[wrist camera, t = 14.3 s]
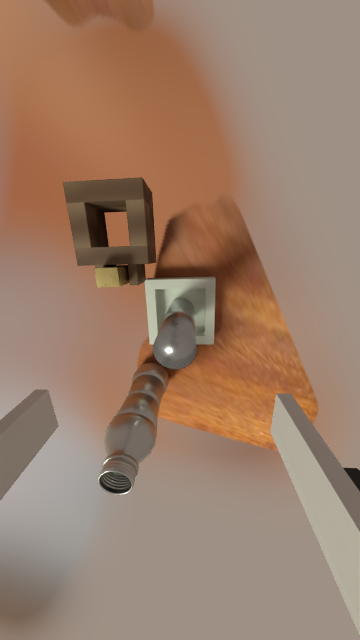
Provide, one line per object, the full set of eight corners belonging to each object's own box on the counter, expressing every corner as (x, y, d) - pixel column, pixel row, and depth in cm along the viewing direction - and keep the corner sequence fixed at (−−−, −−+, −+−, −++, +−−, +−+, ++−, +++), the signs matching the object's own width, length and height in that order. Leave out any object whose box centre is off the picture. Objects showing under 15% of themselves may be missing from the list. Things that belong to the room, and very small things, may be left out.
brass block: (117, 265, 32) (94, 268, 25) (134, 265, 32) (117, 267, 25) (118, 280, 33) (97, 287, 26) (136, 279, 33) (119, 286, 25)
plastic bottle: (174, 382, 39) (156, 500, 20) (142, 389, 40) (98, 507, 21) (164, 354, 38) (135, 455, 19) (131, 362, 39) (72, 465, 20)
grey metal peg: (168, 298, 33) (151, 329, 19) (194, 298, 33) (196, 329, 19) (169, 322, 35) (154, 369, 21) (194, 322, 35) (196, 369, 20)
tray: (148, 278, 33) (144, 279, 31) (213, 276, 33) (215, 278, 30) (153, 337, 37) (149, 344, 34) (212, 337, 36) (213, 344, 33)
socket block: (87, 196, 30) (62, 182, 24) (151, 192, 29) (142, 177, 24) (100, 282, 34) (81, 287, 28) (157, 280, 33) (150, 285, 28)
